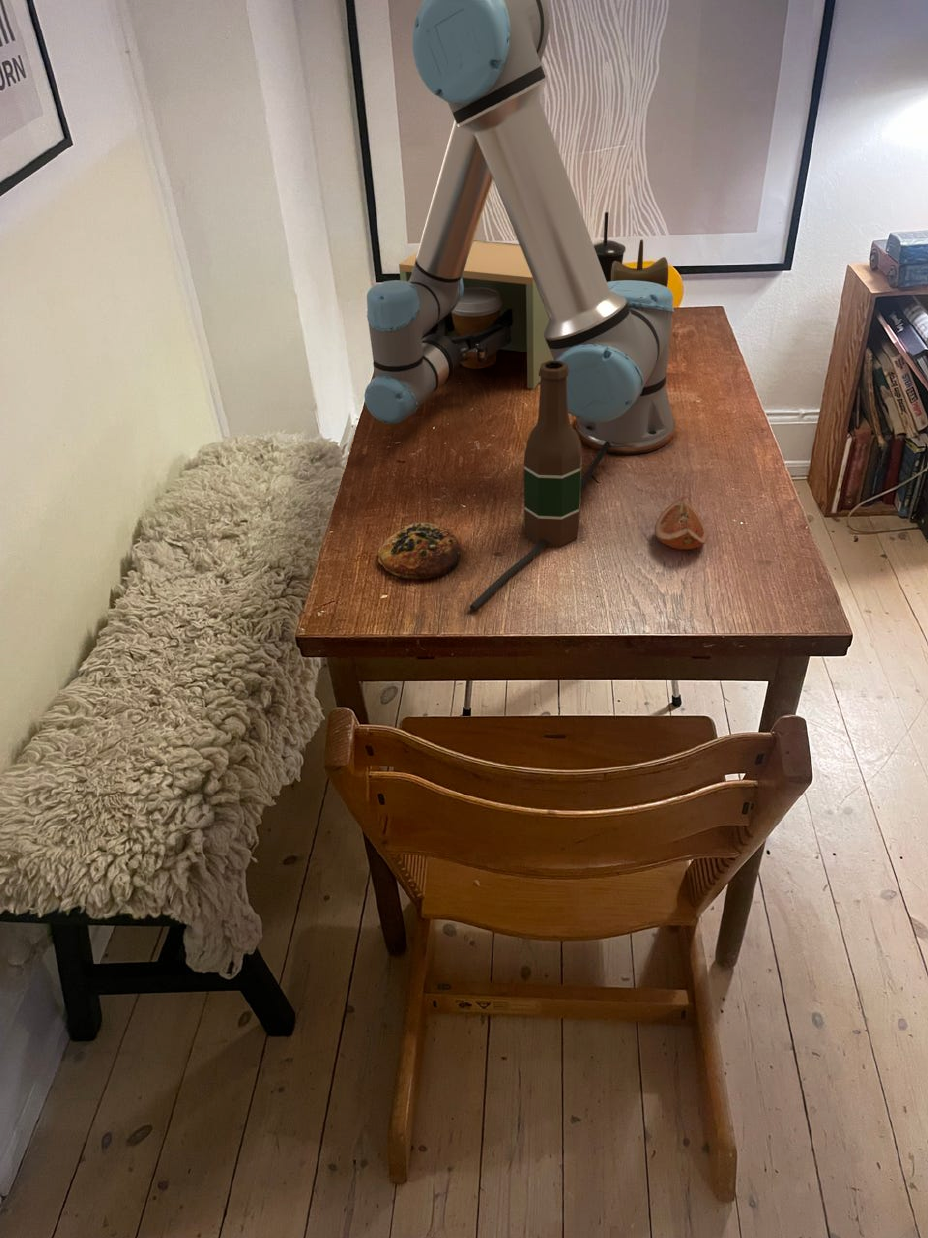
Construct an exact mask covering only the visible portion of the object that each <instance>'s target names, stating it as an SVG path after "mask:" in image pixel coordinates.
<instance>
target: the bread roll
mask: <svg viewBox="0 0 928 1238" xmlns="http://www.w3.org/2000/svg"><path fill="white" fill-rule="evenodd" d="M377 554H378V558H377V560H378V563H379V564H380V565H381V566H382V567H383V568H384V569H385V570H386V571H387V572H388V573H389V574H392V575H394V576H396V577H398V578H400V579H403V580H404V579H406V580H407V579H408V580H424V579H425V580H427V579H430V578H437V577H439V576H444V575H448V574H450V573H451V572H453V571H454V570H455V569H456V568H457V567H458V565H459V562H460V560H461V556H462V548H461V544H460V542H459V540H458V539H457V537H456V536H455V535H454V533H453V532H452V531H451V530H450V529H449V528H447V527H445V526H442V525H438V524H436V523H435V524H434V523H432V522H414V523H411V524H408V525H404V526H401V529H400V530H399V531H397V532H395V533H394V534H391V536H389V537H388V538H386V540H385V541H384V542H383V544H382V545H381V547H379V549H378V551H377Z"/></svg>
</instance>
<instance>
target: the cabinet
mask: <svg viewBox="0 0 928 1238" xmlns="http://www.w3.org/2000/svg"><path fill="white" fill-rule="evenodd" d="M417 252H418V250H417V251H416V252H414V253H413V254H412V255H410V256H408V257H407V258H406V259H404V260H403V261H401V262H400V263H399V264H398V267H399V277H400V279H399V280H400V281H406V282H408V281H409V280H410V277H411V274H412V271H413V267H414V264H415V261H416V256H417ZM462 279H463V284H464V288H465V287H471V286H486V287H492V288H495V289H497V290H498V291H499V292H500V296H501V298H502V299H503V303H502V305H501V308H500V316H501V315H502V314H503V313H504V312H505V311H506V310H508V309H512V317H513V324H512V325H511V326H510V328H511V342H510V343H509V344H507V345H506V346H504V347H502V348H501V349H500V350H504V351H512V352H520V353H526V373H527V374H526V383H527V385H526V387H527V388H526V389H530V390H534V389H535V388H536V387H537V386H538V385H539V384H540V383H541V377H540V376H539V371H540V367H541V364H542V363H544V362H547V361H550V360H552V361H554V359H553V357H552V354H551V352H550V349H549V347H548V344H547V342H546V339H545V336H544V332H545V330H546V327H547V325H548V322H549V316H548V314H547V311H546V309H545V306H544V304H543V301H542V299H541V296H540V294H539V292H538V289H537V287H536V284H535V282H534V279H533V277H532V274H531V272H530V269H529V267H528V264H527V262H526V259H525V257H524V254H523V252H522V249H521V247H520V245H519V243H513V242H512V243H511V242H501V241H489V240H476V239H474V241H473V244H472V247H471V250H470V253H469V256H468V259H467V262H466V265H465V268H464V271H463V274H462ZM450 313H451V312H450ZM446 331H447V332H446V336H451V337H454V336H456V334H455V329H454V330H453V331H452V332H448V328H447V329H446ZM435 334H437V331H436V332H435Z"/></svg>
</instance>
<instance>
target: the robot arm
mask: <svg viewBox="0 0 928 1238" xmlns="http://www.w3.org/2000/svg"><path fill="white" fill-rule="evenodd" d="M550 24H551V23H550V11H549V7H548V3H547V0H423V2H422V3H421V5H420V7H419V8H418V11H417V14H416V17H415V21H414V26H413V29H412V39H411V47H412V56H413V61H414V64H415V68H416V71H417V73H418V75H419V77H420V79H421V80H422V82H423V83H424V86H425V87H426V88H427V89H428V90H429V91H430V92H431V93H432V94H433V95H435V96H437V97H438V98H439V99H441V100H443V101H444V102H447V104H448V107H449V109H450V111H451V113H452V116H453V118H454V121H453V124H452V128H451V131H450V135H449V139H448V142H447V145H446V149H445V153H444V156H443V160H442V164H441V167H440V171H439V175H438V177H437V182H436V185H435V188H434V192H433V196H432V200H431V203H430V207H429V210H428V214H427V216H426V220H425V225H424V228H423V231H422V235H421V239H420V241H419V246H418V250H417V251H418V252H417V251H416V252H417V256H416V261H415V264H414V267H413V271H412V274H411V277H410V280H409V281H408V282H406V281H401V279H399V280H397V279H395V280H386V281H382V282H381V283H376V284H374V285H372V286H371V287H370V288H369V289H368V291H367V293H366V306H367V312H366V318H367V322H368V330H369V337H370V345H371V352H372V359H373V363H372V365H373V373H374V377H373V378H372V379H371V380H370V382H369V383H368V384H367V386H366V388H365V391H364V395H363V396H364V403H365V406H366V408H367V410H368V411H369V413H370V414H371V416H372V417H373V418H375V419H376V420H377V421H379V422H381V423H383V424H387V425H396V424H400V423H402V422H403V421H404V420H406V419H408V418H409V417H410V416H412V415H414V414H415V413H416V411H417V410H418V409H419V408H420V407H421V405H423V404H424V403H425V402H426V401H427V400H428V399H429V398H430V397H431V396H432V395H434V394H435V392H436V391H438V390H439V389H440V388H441V387H442V386H443V385H444V384H445V383H446V382H448V381H449V380H450V379H451V378H452V377H453V376H454V375H455V374H456V373H457V372H458V370H459V368H460V366H461V365H462V364H461V362H463V361H465V360H467V359H468V358H469V357H476V358H477V360H478V362H480V363H482V362H484V361H485V360H486V358H487V357H488V356H490V355H491V354H493V353H495V352H496V353H497V352H498V351H499V350H502V349H501V348H502V347H504V346H506V345H507V344H509V343H510V342H511V328H510V326H511V325H512V324H513V317H512V309H508V310H506V311H505V312H504V313H503V314H502V315H501V316H500V317H499V318H498V319H496V320H495V321H494V322H493V326H491V327H489V328H486V329H484V330H481V331H479V332H476V333H473V334H471V335H470V334H468V333H466V334H463V335H461V336H458V337H456V336H454V337H451V336H446V332H447V331H446V329H447V328H448V332H452V331H453V330H454V324H453V319H452V313H450V312H452V311H453V310H454V309H455V307H456V306H457V304H458V303H459V301H460V300H461V298H462V296H463V292H464V284H463V279H462V274H463V271H464V268H465V265H466V262H467V259H468V256H469V253H470V250H471V247H472V244H473V241H474V240H475V239H476V238H475V237H476V236H477V235H476V234H477V232H478V228H479V225H480V223H481V220H482V217H483V214H484V210H485V208H486V205H487V201H488V198H489V195H490V192H491V189H492V185H493V183H494V185H495V188H496V190H497V192H498V195H499V197H500V200H501V203H502V205H503V207H504V211H505V212H506V215H507V217H508V220H509V222H510V224H511V227H512V230H513V232H514V235H515V237H516V240H517V242H518V244H519V245H520V247H521V249H522V252H523V254H524V257H525V259H526V262H527V264H528V267H529V269H530V272H531V274H532V277H533V279H534V282H535V284H536V287H537V289H538V292H539V294H540V296H541V299H542V301H543V304H544V306H545V309H546V311H547V314H548V316H549V322H548V325H547V327H546V330H545V332H544V336H545V339H546V342H547V344H548V347H549V349H550V352H551V354H552V357H553V359H554V361H562V362H564V363H566V364H567V365H568V369H569V373H568V376H567V377H566V378H567V401H568V415H570V416H572V417H575V431H576V432H577V434H578V436H579V439H580V442H581V443H583V444H584V445H586V446H588V447H589V448H592V449H594V450H596V451H599V452H598V453H597V454H596V456H595V457H594V459H593V461H592V463H591V464H590V466H589V467H588V469H587V470H586V471H585V474H584V475H583V477H581V494H582V492H583V491H584V489H585V487H586V486H587V484H588V483H589V481H590V479H591V478H592V476H593V474H594V473H595V471H596V469H597V467H598V466H599V464H600V463H601V461H602V460H603V458H604V457H605V455H606V454H607V453H608V454H616V455H618V454H619V455H636V454H642V453H643V454H644V453H647V452H648V453H649V452H652V451H654V450H658V449H660V448H661V447H664V446H665V445H666V444H668V443H669V442H670V441H671V439H672V438H673V435H674V430H675V429H674V427H675V418H674V414H673V410H672V406H671V402H670V398H669V395H668V391H667V385H666V384H667V374H668V364H669V352H670V342H671V331H672V322H673V321H672V320H673V314H674V312H675V308H674V293H673V292H672V291H671V289H670V288H669V287H668V286H667V287H665V286H663V285H660V284H657V283H653V282H646V281H635V280H622V281H611V282H607V281H606V279H605V276H604V273H603V270H602V268H601V265H600V262H599V260H598V257H597V254H596V251H595V249H594V246H593V243H594V242H593V240H592V238H591V236H590V232H589V230H588V227H587V224H586V222H585V219H584V216H583V213H582V211H581V207H580V205H579V202H578V200H577V197H576V194H575V192H574V189H573V186H572V184H571V181H570V179H569V175H568V173H567V171H566V167H565V164H564V162H563V159H562V157H561V153H560V151H559V148H558V145H557V143H556V139H555V137H554V135H553V132H552V130H551V129H552V128H551V127H550V124H549V121H548V119H547V116H546V113H545V110H544V108H543V105H542V96H543V92H544V90H545V86H546V84H547V77H546V74H545V71H544V68H543V65H542V61H543V56H544V54H545V51H546V48H547V44H548V41H549V40H548V39H549V35H550ZM436 331H437V334H435V332H436ZM547 544H548V542H547V541H546V540H542V541H541V542H539V543H538V544H536V545H535V546H534V547H532V549H531V550H530V551H529V552H527V553H526V555H525V556H523V557H522V558H521V559H519V560H518V561H517V562H515V564H513V565H512V566H511V567H510V568H509V569H507V570H506V571H505V572H503V574H502V575H501V576H499V577H498V578H497V579H496V580H495V581H493V583H492V584H490V585H489V587H488V588H487V589H486V590H485V591H483V592H482V593H481V595H479V596H478V597H477V598H476V599H475V601H473V602H472V603H471V604H470V605H469V610H471V611H472V612H476V611H477V610H478V609H480V607H481V606H482V605H484V604H485V603H486V601H487V600H488V599H490V597H491V596H492V595H494V594H495V592H497V590H499V589H500V588H501V587H502V586H503V585H504V584H505V583H506V582H507V581H508V580H510V579H511V578H512V577H513V576H514V575H515V574H516V573H518V572H519V571H520V570H521V569H522V568H524V567H525V566H526V565H527V564H528V563H530V562H531V561H532V560H533V559H534V558H535V557H536V556H537V555H538V554H540V553H541V552H542V551H543V550H544V548H546V547H547V546H546V545H547Z"/></svg>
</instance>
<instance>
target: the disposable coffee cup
mask: <svg viewBox="0 0 928 1238" xmlns="http://www.w3.org/2000/svg"><path fill="white" fill-rule="evenodd" d="M502 303H503V299H502V298H501V296H500V292H499V291H498V290H497V289H495V288H492V287H486V286H471V287H465V288H464V292H463V296H462V298H461V300H460V301H459V303H458V304H457V306H456V307H455V309H454V310H453V311H452V312H451V313H452V319H453V324H454V329H455V334H456V337H458V336H461V335H463V334H466V333H468V334H470V335H471V334H473V333H476V332H479V331H481V330H484V329H486V328H489V327H491V326H493V322H494V321H495V320H496V319H498V318H499V317H500V308H501V305H502ZM496 361H497V351H496V352H495V353H493V354H491V355H490V356H488V357H487V358H486V360H485V361H484V362H482V363H480V362H478V360H477V358H476V357H469V358H468V359H467V360H465V361H463V362H461V364H460V365H462V366H463V367H465V368H469V369H484V368H488V367H491V366H493V365H494V364H495V363H496Z"/></svg>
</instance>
